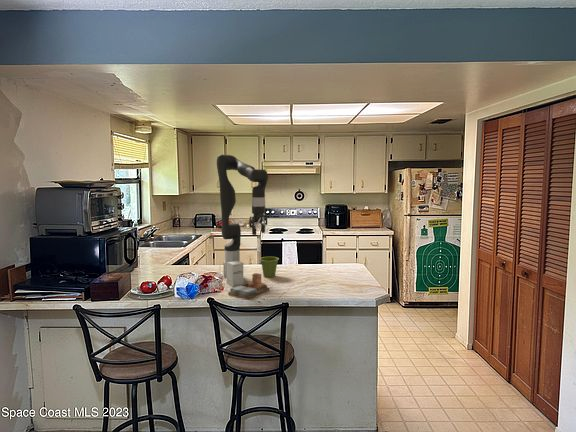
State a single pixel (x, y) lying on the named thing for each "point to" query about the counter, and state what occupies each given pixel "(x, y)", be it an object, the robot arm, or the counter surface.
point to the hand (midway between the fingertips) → (258, 233)
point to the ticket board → (259, 291)
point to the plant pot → (269, 266)
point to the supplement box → (235, 273)
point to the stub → (256, 281)
